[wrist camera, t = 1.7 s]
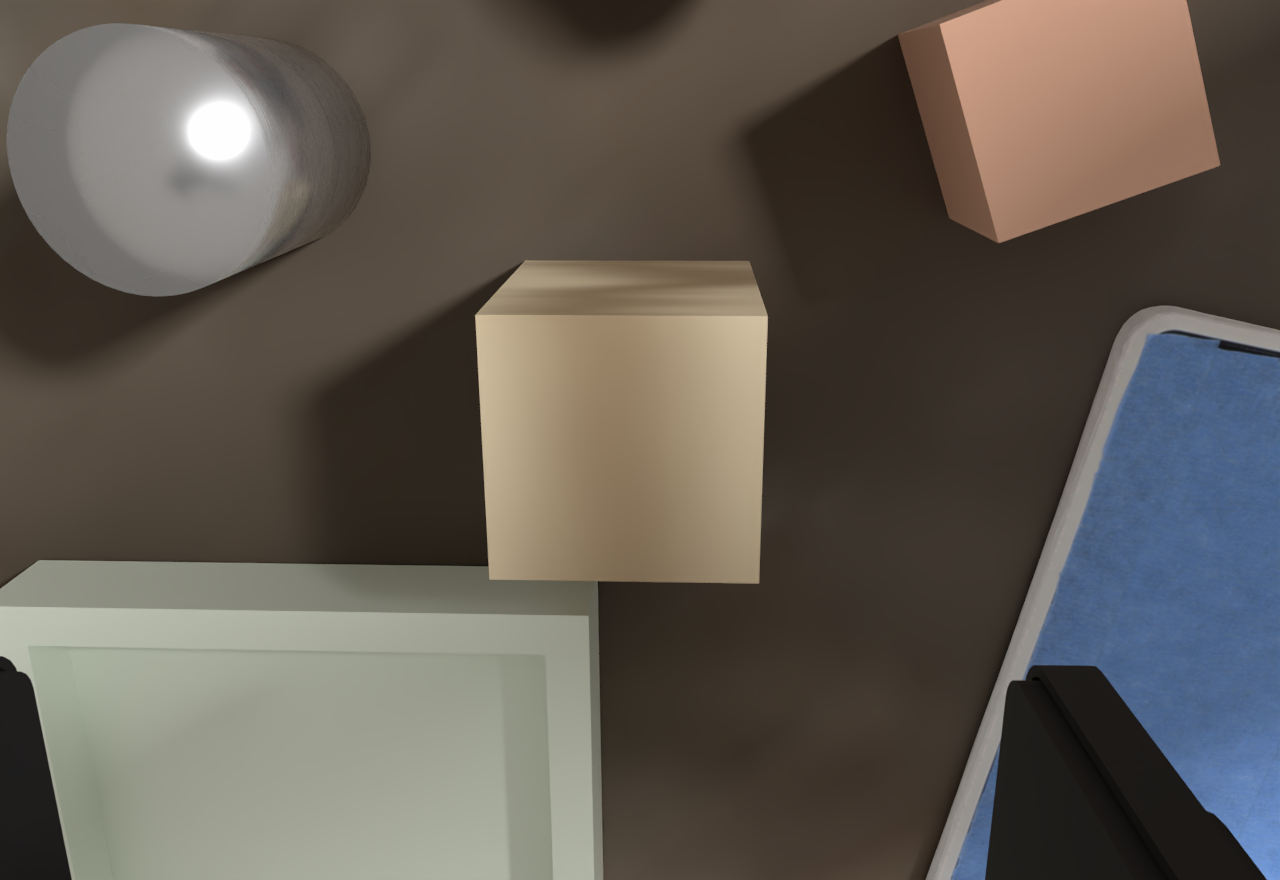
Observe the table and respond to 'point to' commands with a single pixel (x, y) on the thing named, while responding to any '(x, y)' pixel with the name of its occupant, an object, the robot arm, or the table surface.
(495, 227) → the table surface
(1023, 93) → the terracotta cube
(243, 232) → the grey canister
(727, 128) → the table surface
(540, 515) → the beech block
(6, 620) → the tray
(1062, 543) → the tablet computer
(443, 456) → the table surface
